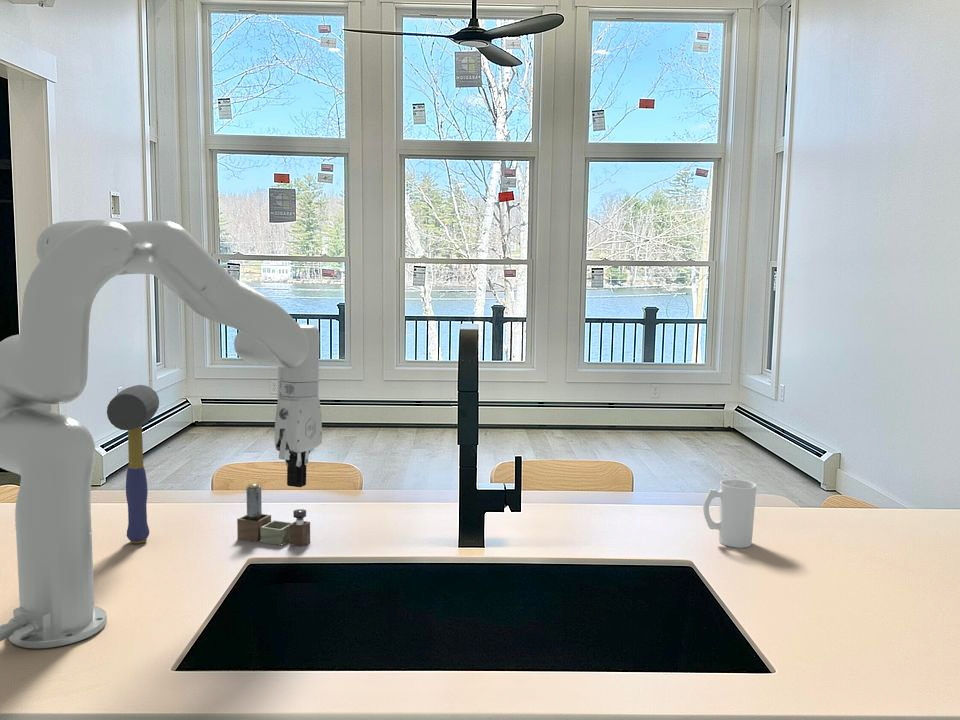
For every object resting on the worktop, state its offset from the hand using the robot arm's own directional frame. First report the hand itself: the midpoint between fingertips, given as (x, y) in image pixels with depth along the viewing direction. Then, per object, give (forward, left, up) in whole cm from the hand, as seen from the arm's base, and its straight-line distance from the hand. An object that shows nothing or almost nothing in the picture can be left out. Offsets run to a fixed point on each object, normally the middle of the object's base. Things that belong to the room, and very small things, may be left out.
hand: (296, 485), depth 151 cm
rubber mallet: (-10, +29, -12) cm, 33 cm away
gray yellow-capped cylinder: (+1, +10, -12) cm, 15 cm away
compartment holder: (+1, +5, -12) cm, 13 cm away
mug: (+31, -78, -12) cm, 85 cm away
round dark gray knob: (+1, 0, -11) cm, 11 cm away
